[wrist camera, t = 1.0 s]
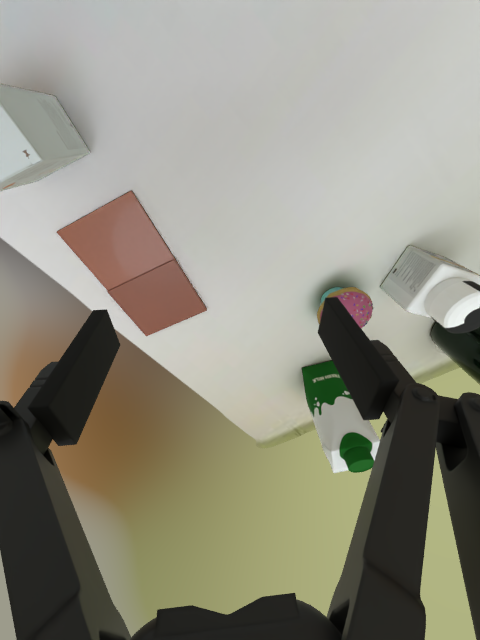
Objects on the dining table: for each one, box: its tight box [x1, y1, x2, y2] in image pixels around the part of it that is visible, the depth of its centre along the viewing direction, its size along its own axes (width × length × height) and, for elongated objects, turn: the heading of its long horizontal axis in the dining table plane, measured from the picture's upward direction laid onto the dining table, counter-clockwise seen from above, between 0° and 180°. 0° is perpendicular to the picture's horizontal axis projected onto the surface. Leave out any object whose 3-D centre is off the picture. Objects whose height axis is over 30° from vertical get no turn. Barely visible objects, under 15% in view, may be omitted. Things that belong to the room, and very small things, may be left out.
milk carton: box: [302, 361, 380, 473], centre depth 48 cm, size 9×9×20 cm
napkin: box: [57, 191, 207, 336], centre depth 39 cm, size 20×12×1 cm, turn 24°
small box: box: [0, 84, 90, 191], centre depth 25 cm, size 8×6×10 cm
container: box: [381, 246, 480, 333], centre depth 38 cm, size 8×8×13 cm
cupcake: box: [317, 287, 373, 328], centre depth 40 cm, size 9×8×12 cm
